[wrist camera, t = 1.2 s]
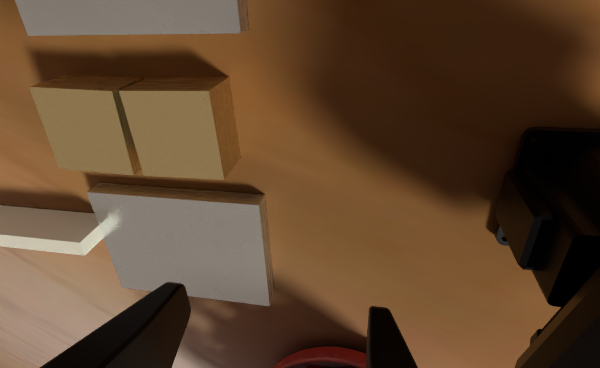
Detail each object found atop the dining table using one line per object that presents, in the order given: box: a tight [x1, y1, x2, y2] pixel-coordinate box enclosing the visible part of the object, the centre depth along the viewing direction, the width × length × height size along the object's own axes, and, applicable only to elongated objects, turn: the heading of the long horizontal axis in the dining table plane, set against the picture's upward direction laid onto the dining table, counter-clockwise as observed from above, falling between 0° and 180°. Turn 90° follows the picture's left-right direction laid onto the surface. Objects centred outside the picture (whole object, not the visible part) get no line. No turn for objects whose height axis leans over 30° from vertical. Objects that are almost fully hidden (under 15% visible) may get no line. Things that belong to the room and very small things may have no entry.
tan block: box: [119, 77, 241, 180], centre depth 19 cm, size 4×4×3 cm
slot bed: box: [15, 0, 274, 306], centre depth 20 cm, size 11×25×1 cm, turn 2°
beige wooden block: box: [29, 74, 142, 175], centre depth 20 cm, size 4×4×3 cm
